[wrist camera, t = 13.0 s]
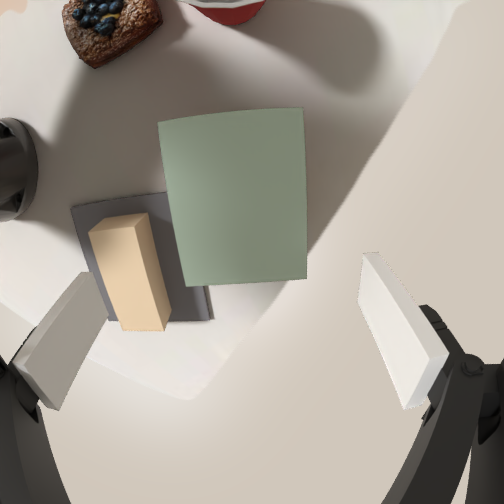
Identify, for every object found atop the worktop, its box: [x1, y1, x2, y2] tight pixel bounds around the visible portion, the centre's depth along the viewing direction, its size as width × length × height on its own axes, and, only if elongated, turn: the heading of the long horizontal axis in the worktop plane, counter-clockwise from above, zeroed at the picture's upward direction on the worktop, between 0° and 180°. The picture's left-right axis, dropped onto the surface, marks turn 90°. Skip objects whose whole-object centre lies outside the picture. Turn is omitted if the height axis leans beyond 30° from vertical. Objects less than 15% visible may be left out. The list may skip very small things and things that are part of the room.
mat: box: [70, 192, 210, 331], centre depth 34 cm, size 16×18×5 cm
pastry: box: [62, 0, 163, 69], centre depth 19 cm, size 11×12×6 cm
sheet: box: [157, 107, 307, 287], centre depth 26 cm, size 12×16×1 cm
